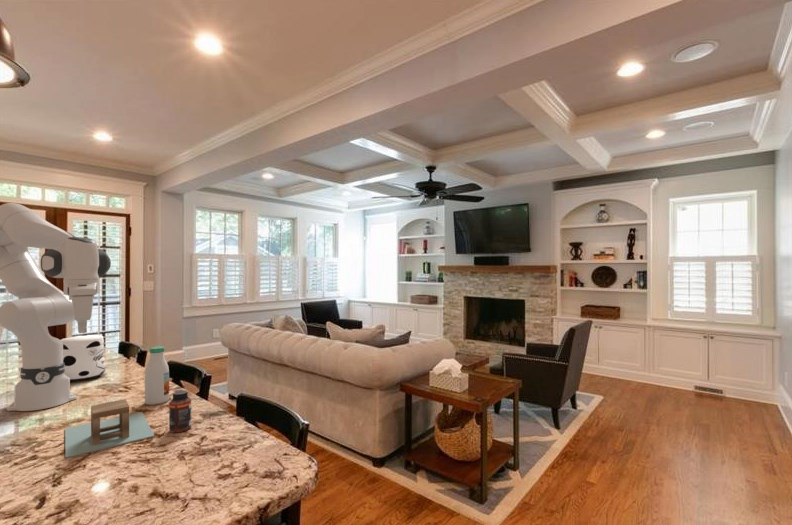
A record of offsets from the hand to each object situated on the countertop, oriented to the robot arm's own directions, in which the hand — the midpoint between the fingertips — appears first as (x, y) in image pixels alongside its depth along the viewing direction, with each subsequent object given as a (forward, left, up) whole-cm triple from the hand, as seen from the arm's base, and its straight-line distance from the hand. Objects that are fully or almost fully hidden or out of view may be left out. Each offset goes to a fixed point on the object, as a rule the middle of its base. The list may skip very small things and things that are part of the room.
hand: (81, 332), depth 125 cm
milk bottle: (-9, +22, -29) cm, 38 cm away
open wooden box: (+13, +6, -24) cm, 28 cm away
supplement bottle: (+24, +23, -29) cm, 44 cm away
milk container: (-67, +2, -29) cm, 73 cm away
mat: (+13, +6, -29) cm, 32 cm away
